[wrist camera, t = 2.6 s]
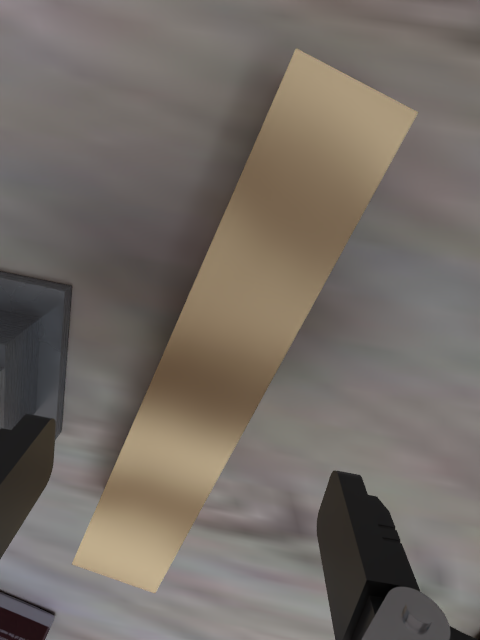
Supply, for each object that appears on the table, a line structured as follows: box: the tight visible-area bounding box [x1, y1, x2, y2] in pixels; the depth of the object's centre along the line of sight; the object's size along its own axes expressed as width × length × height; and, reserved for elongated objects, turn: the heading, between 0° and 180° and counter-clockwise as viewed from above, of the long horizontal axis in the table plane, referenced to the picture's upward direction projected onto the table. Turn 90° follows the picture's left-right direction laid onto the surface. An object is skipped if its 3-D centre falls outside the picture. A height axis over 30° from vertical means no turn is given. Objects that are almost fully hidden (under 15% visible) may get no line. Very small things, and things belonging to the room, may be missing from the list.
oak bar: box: [72, 48, 418, 593], centre depth 19 cm, size 22×4×5 cm, turn 155°
